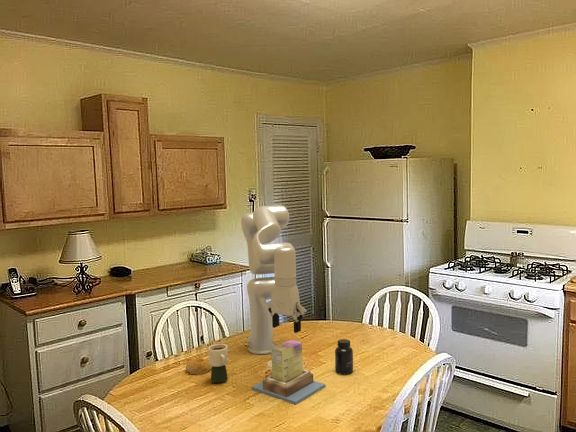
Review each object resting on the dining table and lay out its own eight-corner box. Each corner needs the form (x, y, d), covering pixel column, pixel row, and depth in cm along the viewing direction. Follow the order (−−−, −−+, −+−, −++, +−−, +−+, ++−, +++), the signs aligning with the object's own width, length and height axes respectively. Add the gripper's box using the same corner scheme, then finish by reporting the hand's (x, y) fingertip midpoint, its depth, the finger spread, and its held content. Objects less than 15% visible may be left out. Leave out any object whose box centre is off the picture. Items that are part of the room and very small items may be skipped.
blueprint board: (251, 389, 177) (251, 386, 177) (282, 374, 190) (282, 371, 190) (296, 404, 165) (295, 401, 165) (325, 386, 178) (325, 384, 178)
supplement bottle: (352, 375, 187) (352, 344, 186) (334, 374, 188) (333, 343, 188) (353, 368, 194) (353, 338, 193) (336, 367, 195) (335, 337, 194)
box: (291, 370, 183) (290, 339, 182) (303, 374, 179) (302, 342, 178) (271, 379, 176) (270, 346, 175) (283, 383, 172) (282, 350, 171)
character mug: (234, 383, 183) (232, 349, 182) (216, 388, 179) (214, 353, 178) (222, 374, 192) (220, 341, 191) (204, 378, 188) (203, 344, 187)
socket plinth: (262, 389, 175) (262, 378, 175) (289, 375, 187) (289, 364, 186) (287, 397, 168) (286, 385, 168) (313, 382, 180) (313, 371, 180)
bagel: (218, 368, 198) (218, 356, 198) (197, 378, 190) (196, 365, 189) (202, 363, 205) (201, 352, 204) (180, 372, 196) (179, 360, 196)
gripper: (259, 280, 177) (261, 327, 179) (298, 287, 166) (299, 337, 168) (273, 276, 183) (274, 322, 185) (311, 282, 172) (312, 331, 174)
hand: (286, 329), depth 176 cm, fingers open, 9 cm apart
